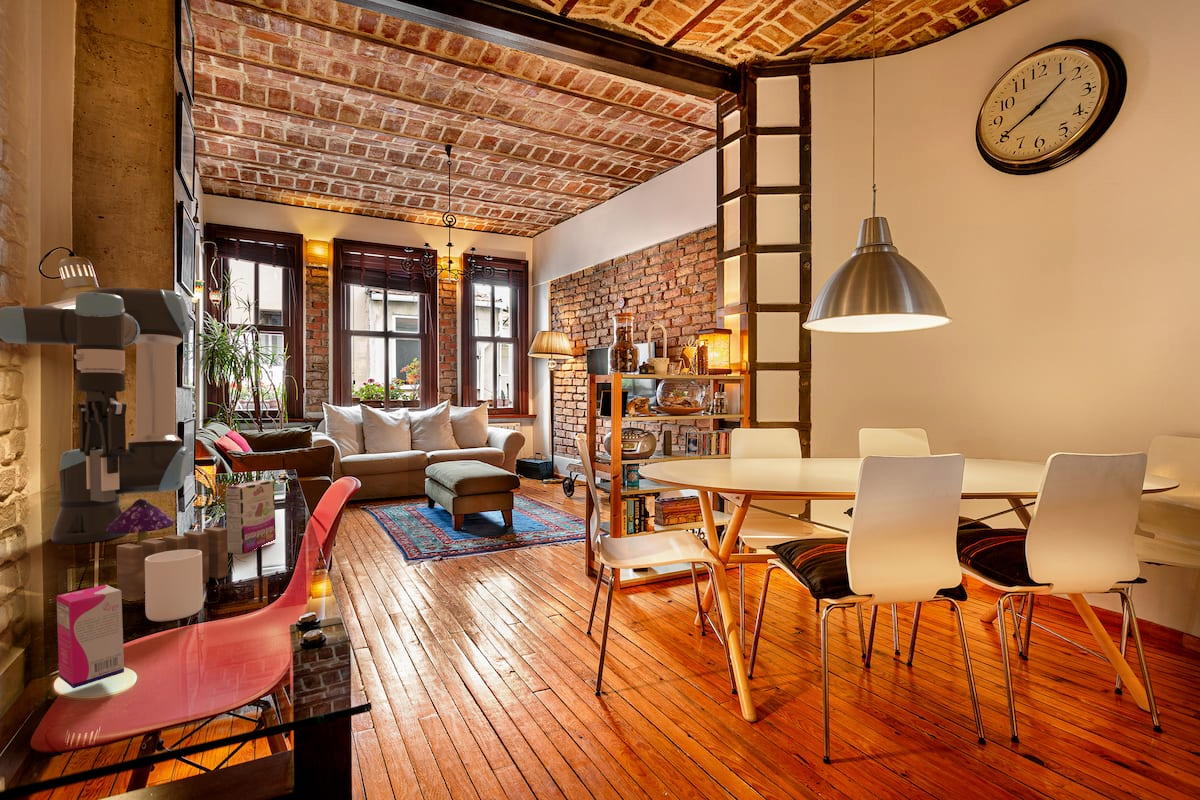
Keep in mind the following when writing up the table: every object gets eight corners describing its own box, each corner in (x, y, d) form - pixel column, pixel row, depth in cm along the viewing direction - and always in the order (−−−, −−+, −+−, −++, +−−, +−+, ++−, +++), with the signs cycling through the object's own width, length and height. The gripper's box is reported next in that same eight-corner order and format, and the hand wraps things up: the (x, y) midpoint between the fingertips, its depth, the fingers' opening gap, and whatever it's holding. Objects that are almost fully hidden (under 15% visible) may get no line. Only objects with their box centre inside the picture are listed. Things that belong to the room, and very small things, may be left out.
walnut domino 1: (132, 602, 114) (131, 548, 114) (117, 598, 117) (116, 545, 116) (144, 599, 116) (143, 546, 116) (129, 595, 118) (128, 543, 118)
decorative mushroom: (133, 575, 132) (132, 504, 132) (92, 570, 136) (91, 502, 136) (188, 559, 144) (187, 495, 143) (149, 555, 147) (148, 493, 147)
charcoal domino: (103, 502, 121) (102, 451, 121) (90, 500, 123) (89, 450, 123) (115, 500, 122) (114, 450, 122) (102, 498, 125) (101, 449, 125)
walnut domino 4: (198, 584, 125) (198, 535, 125) (184, 581, 127) (183, 532, 127) (208, 581, 127) (208, 532, 127) (194, 578, 129) (193, 530, 129)
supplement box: (109, 662, 89) (107, 583, 88) (125, 672, 85) (123, 590, 85) (57, 677, 84) (55, 594, 84) (71, 689, 80) (70, 602, 80)
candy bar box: (259, 543, 159) (258, 479, 159) (276, 543, 158) (275, 480, 158) (225, 554, 148) (224, 486, 148) (243, 555, 147) (242, 486, 147)
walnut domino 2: (155, 595, 118) (155, 543, 118) (141, 592, 120) (140, 541, 120) (167, 592, 120) (166, 541, 120) (152, 589, 122) (151, 538, 122)
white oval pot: (143, 606, 112) (142, 550, 112) (197, 597, 117) (197, 543, 117) (146, 626, 102) (145, 564, 102) (205, 614, 108) (204, 555, 107)
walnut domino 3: (177, 589, 121) (177, 539, 121) (163, 586, 124) (162, 536, 124) (188, 587, 123) (187, 537, 123) (173, 583, 125) (173, 534, 125)
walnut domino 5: (218, 578, 129) (217, 531, 128) (204, 575, 131) (203, 528, 131) (228, 576, 130) (227, 529, 130) (213, 573, 133) (212, 526, 133)
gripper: (55, 372, 123) (57, 488, 123) (102, 370, 115) (104, 495, 115) (100, 373, 130) (101, 483, 130) (147, 371, 122) (148, 489, 122)
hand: (103, 488), depth 123 cm, fingers closed on charcoal domino, 5 cm apart
